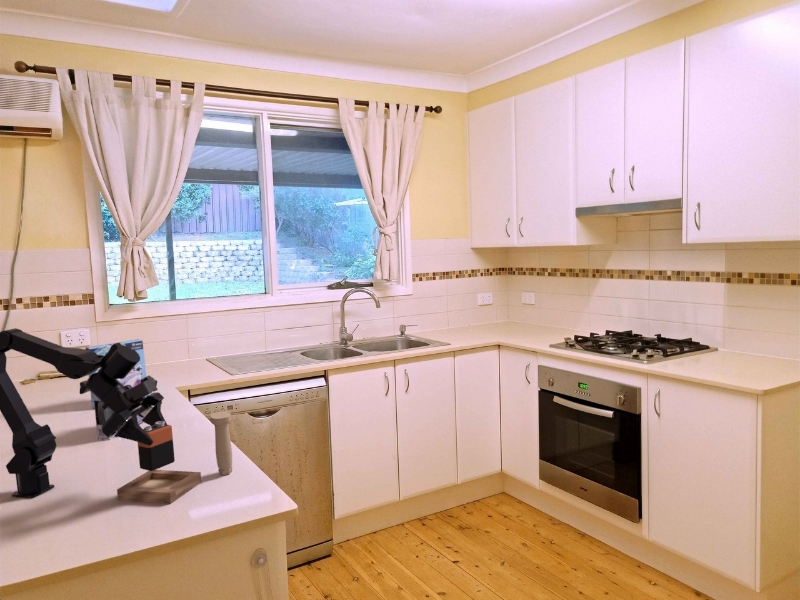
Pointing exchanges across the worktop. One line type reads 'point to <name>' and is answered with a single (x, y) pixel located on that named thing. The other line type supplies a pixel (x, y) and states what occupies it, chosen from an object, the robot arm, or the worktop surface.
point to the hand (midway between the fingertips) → (160, 438)
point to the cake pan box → (104, 415)
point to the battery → (157, 447)
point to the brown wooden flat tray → (159, 486)
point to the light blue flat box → (132, 344)
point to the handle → (222, 441)
